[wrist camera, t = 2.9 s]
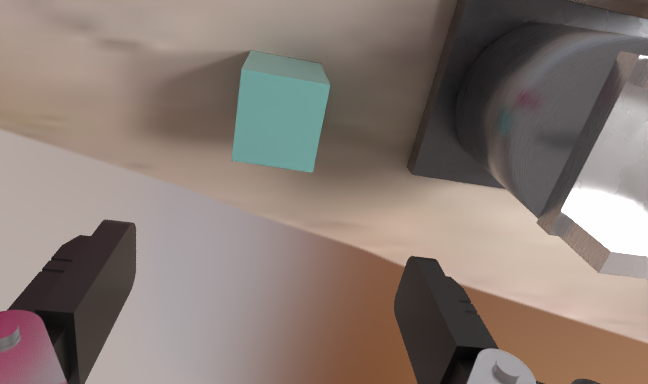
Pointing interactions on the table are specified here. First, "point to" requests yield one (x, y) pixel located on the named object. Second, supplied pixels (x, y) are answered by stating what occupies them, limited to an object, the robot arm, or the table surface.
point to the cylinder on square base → (548, 120)
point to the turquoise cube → (280, 111)
